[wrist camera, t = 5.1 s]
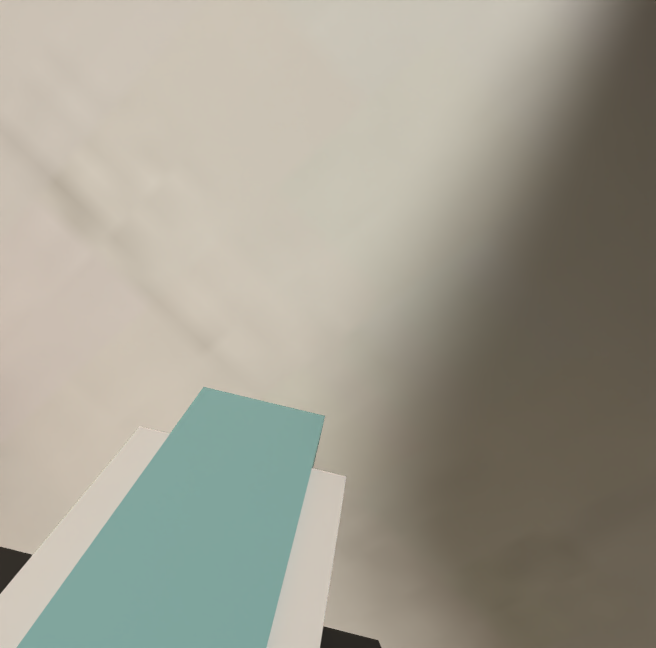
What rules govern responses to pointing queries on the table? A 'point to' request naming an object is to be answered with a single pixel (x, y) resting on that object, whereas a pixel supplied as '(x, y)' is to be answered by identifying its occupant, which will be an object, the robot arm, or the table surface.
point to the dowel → (194, 536)
